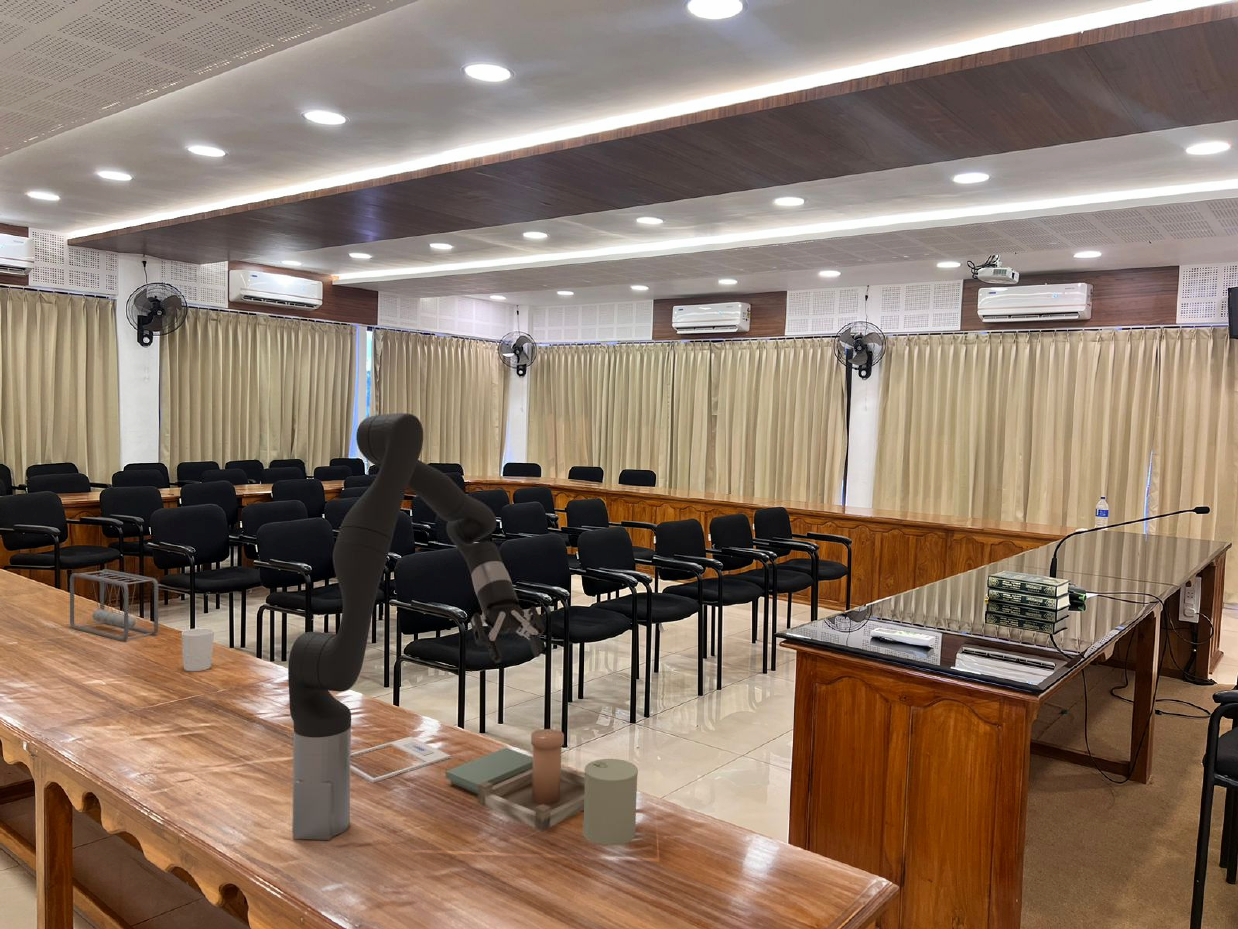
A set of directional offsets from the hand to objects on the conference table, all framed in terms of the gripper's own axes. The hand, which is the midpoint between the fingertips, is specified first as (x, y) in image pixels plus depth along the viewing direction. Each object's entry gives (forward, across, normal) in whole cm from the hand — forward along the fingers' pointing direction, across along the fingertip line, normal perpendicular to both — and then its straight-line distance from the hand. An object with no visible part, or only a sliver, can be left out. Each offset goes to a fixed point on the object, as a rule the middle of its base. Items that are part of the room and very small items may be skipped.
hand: (519, 658), depth 167 cm
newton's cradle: (-96, -57, +131) cm, 172 cm away
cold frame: (+25, 0, +9) cm, 27 cm away
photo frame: (+3, -17, +32) cm, 37 cm away
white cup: (-59, -41, +93) cm, 118 cm away
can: (+37, +3, -3) cm, 37 cm away
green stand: (+16, -4, +18) cm, 24 cm away
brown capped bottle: (+25, 0, +8) cm, 26 cm away
